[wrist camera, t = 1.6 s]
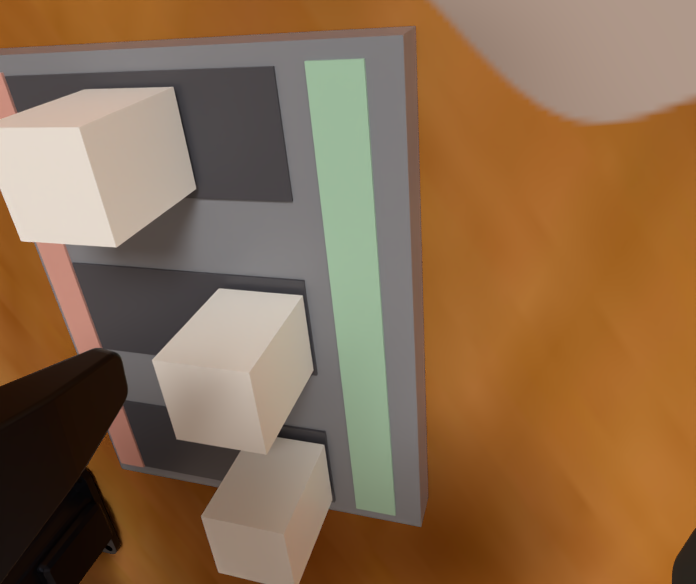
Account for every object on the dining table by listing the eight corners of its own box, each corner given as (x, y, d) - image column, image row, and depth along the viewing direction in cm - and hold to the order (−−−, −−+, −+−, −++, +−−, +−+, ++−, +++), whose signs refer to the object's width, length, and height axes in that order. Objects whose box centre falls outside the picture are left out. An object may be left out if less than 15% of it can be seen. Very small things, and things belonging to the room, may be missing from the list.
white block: (263, 486, 25) (218, 572, 21) (251, 433, 23) (201, 516, 20) (332, 499, 24) (295, 591, 21) (324, 444, 22) (283, 534, 19)
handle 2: (235, 360, 21) (176, 439, 18) (218, 288, 20) (152, 360, 17) (313, 370, 21) (266, 454, 17) (302, 295, 19) (249, 372, 16)
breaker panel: (140, 445, 29) (120, 470, 28) (-2, 48, 20) (-41, 57, 19) (428, 497, 25) (420, 529, 23) (415, 26, 16) (402, 35, 14)
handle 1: (113, 186, 19) (21, 241, 16) (84, 89, 18) (-25, 127, 14) (196, 188, 18) (116, 247, 15) (173, 86, 17) (79, 127, 13)
